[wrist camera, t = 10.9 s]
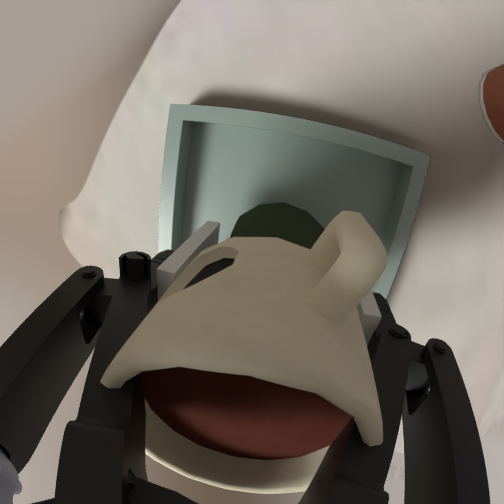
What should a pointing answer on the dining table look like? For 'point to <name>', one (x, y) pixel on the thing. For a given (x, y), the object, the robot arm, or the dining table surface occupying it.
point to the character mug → (260, 352)
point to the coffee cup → (493, 100)
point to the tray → (284, 175)
